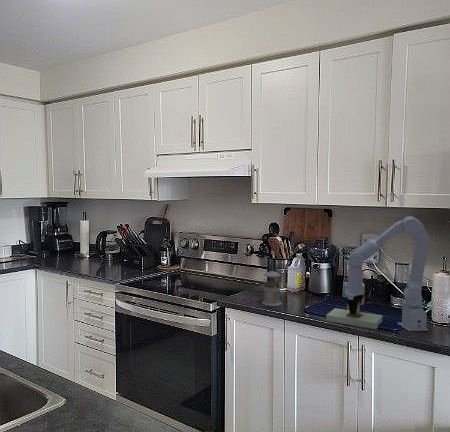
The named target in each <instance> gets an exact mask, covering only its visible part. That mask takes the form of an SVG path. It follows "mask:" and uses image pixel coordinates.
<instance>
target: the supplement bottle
mask: <svg viewBox="0 0 450 432" xmlns="http://www.w3.org/2000/svg"><path fill="white" fill-rule="evenodd" d="M365 289H366V285H365V283H364V282H363V286H362V291H363V294H362V295H364V297H363V299H362V301H361V305H360V306H363V305H365Z"/></svg>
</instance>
